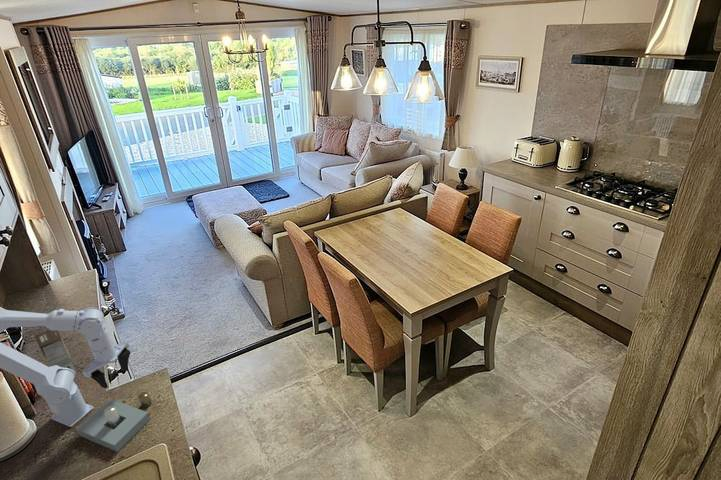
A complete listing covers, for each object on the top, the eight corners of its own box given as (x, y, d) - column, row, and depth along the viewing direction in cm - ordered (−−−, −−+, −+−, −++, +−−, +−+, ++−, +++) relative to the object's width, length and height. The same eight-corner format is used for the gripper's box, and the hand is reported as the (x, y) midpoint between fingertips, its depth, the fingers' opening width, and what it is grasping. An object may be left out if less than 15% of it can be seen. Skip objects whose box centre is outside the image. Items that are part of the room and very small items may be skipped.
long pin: (110, 429, 124) (101, 411, 121) (119, 422, 127) (111, 404, 123) (115, 434, 123) (107, 415, 119) (125, 426, 125) (117, 408, 122)
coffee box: (51, 369, 149) (34, 334, 141) (71, 360, 153) (55, 326, 145) (57, 382, 143) (39, 347, 135) (78, 372, 147) (61, 337, 139)
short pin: (139, 406, 132) (136, 397, 130) (147, 399, 134) (143, 390, 132) (146, 409, 131) (142, 400, 129) (153, 402, 133) (150, 393, 131)
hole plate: (79, 435, 123) (75, 428, 121) (114, 405, 133) (111, 398, 131) (117, 452, 117) (114, 445, 116) (150, 419, 127) (148, 412, 126)
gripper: (88, 364, 117) (103, 398, 123) (130, 333, 129) (142, 365, 135) (71, 358, 120) (87, 392, 126) (114, 328, 131) (127, 360, 138)
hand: (115, 378), depth 131 cm, fingers open, 7 cm apart
